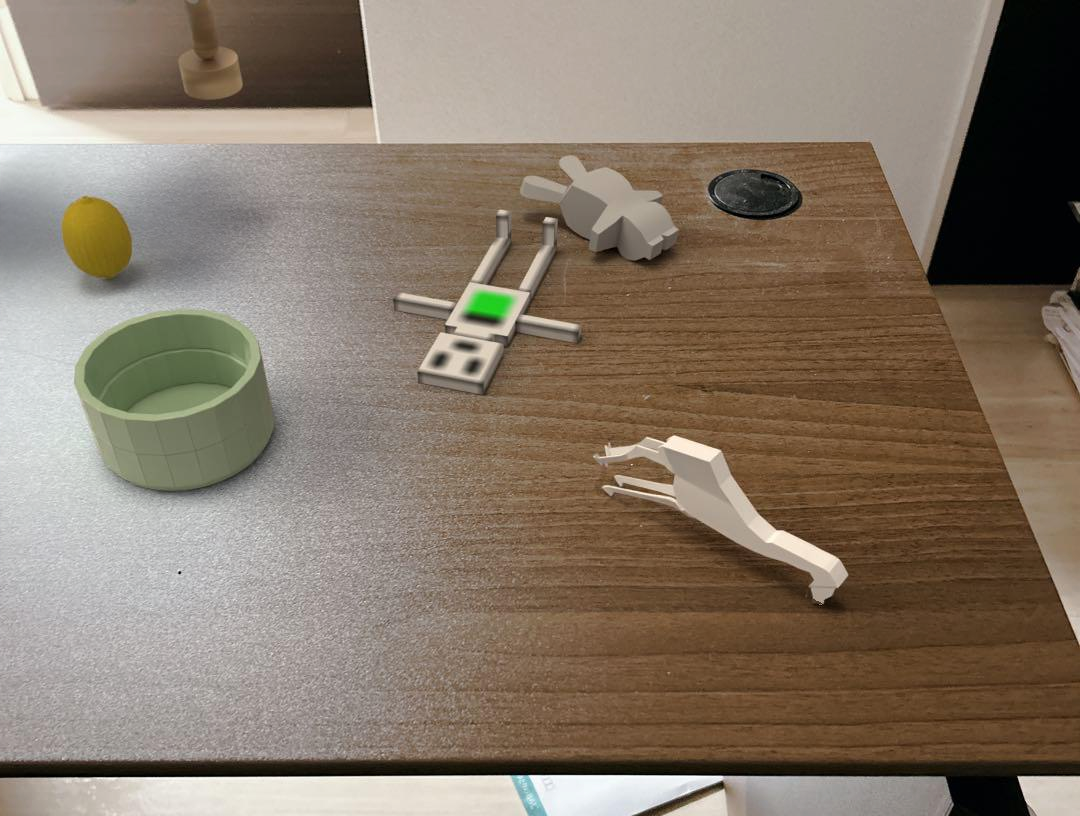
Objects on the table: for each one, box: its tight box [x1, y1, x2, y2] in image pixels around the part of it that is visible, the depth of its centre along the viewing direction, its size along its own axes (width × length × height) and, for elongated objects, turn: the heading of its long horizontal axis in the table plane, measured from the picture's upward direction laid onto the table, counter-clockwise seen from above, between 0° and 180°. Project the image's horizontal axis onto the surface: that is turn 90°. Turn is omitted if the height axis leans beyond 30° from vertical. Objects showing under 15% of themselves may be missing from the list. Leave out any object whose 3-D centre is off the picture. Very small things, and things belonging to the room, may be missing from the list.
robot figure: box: [392, 209, 583, 396], centre depth 97 cm, size 16×3×22 cm
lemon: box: [61, 195, 133, 281], centre depth 98 cm, size 6×6×8 cm
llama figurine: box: [592, 435, 849, 605], centre depth 77 cm, size 2×11×18 cm
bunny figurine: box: [518, 154, 680, 261], centre depth 105 cm, size 10×5×15 cm
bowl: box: [73, 308, 275, 492], centre depth 84 cm, size 13×13×7 cm
